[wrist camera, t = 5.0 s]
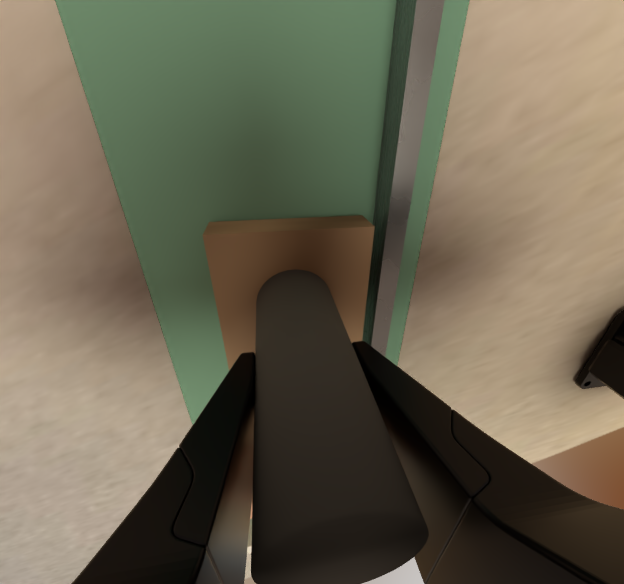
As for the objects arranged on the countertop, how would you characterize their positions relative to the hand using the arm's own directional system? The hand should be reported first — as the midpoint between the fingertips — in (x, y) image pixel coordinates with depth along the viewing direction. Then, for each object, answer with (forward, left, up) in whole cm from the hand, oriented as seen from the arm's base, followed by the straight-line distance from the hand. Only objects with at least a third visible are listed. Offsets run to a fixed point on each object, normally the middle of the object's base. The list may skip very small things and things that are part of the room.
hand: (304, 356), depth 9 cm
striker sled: (0, +4, -5) cm, 6 cm away
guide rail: (-4, -2, -5) cm, 7 cm away
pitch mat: (0, +3, -5) cm, 6 cm away
